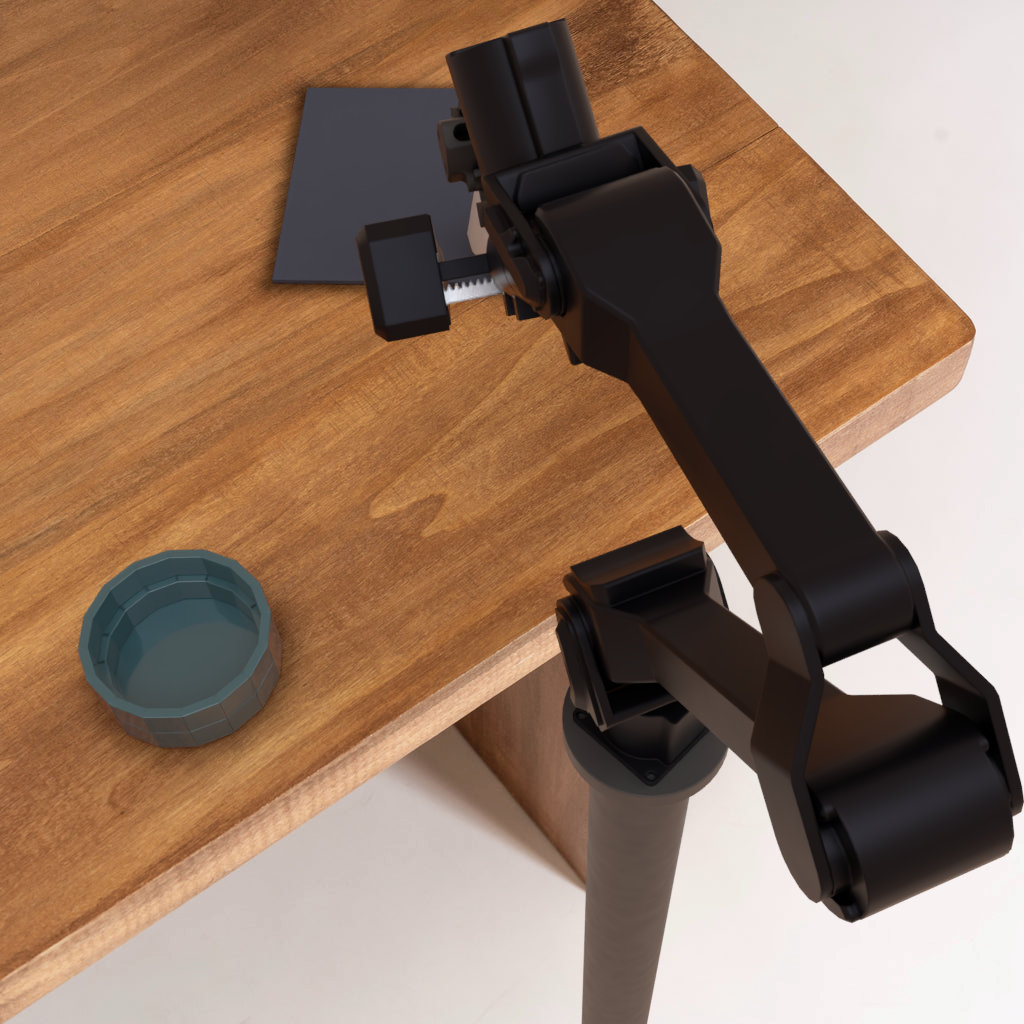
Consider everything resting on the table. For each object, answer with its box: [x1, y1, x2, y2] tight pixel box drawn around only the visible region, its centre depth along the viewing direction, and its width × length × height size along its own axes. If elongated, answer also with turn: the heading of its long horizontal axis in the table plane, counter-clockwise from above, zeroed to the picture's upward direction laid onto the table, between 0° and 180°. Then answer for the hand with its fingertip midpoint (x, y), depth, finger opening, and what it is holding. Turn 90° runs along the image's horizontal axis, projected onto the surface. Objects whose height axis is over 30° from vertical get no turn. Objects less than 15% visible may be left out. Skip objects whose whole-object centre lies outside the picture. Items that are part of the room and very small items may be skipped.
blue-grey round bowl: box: [77, 548, 283, 748], centre depth 83 cm, size 11×11×4 cm
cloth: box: [271, 87, 491, 287], centre depth 106 cm, size 20×20×1 cm
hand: (516, 250), depth 85 cm, fingers open, 9 cm apart
